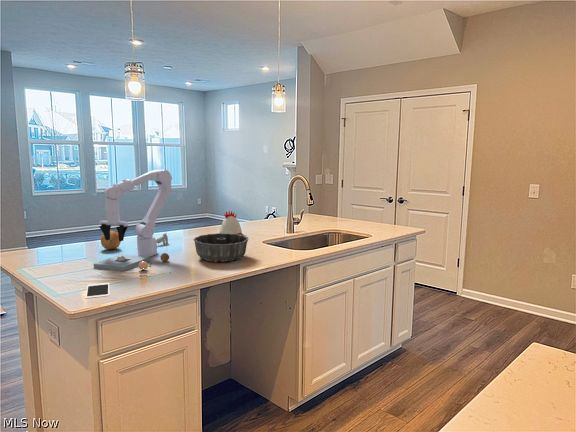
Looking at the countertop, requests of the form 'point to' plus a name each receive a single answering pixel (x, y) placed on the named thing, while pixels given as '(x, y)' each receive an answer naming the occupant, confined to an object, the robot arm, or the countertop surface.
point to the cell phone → (97, 290)
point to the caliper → (163, 239)
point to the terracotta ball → (143, 265)
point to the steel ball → (121, 259)
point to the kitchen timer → (230, 225)
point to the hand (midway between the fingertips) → (114, 240)
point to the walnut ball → (164, 257)
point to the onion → (111, 241)
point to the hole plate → (121, 263)
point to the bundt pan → (221, 246)
